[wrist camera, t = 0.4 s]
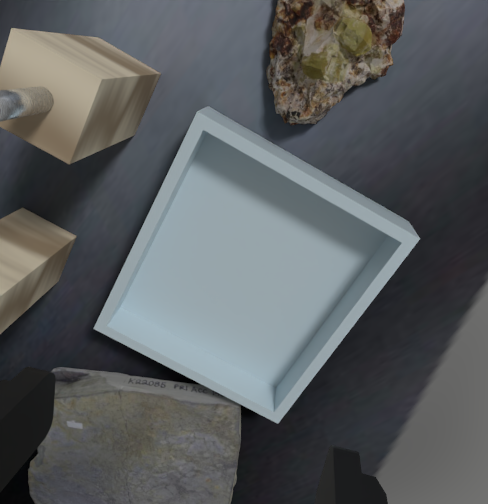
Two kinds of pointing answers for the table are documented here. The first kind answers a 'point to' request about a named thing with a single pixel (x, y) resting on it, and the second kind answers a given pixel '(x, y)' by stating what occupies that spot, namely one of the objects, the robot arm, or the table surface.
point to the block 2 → (71, 92)
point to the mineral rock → (328, 52)
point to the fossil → (136, 442)
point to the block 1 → (29, 261)
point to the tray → (251, 267)
